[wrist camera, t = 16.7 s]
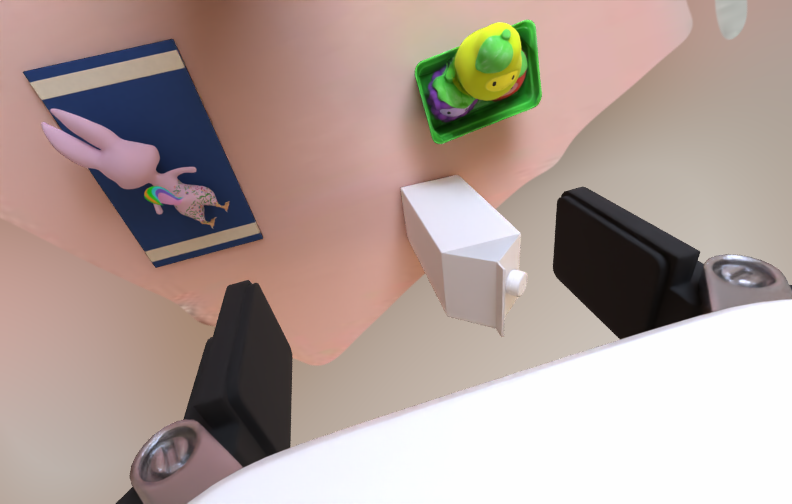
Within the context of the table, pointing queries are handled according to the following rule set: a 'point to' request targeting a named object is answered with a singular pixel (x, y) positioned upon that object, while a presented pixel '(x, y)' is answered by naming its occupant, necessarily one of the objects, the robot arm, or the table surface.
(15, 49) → the table surface
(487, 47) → the fruit basket
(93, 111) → the cloth
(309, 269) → the table surface
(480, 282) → the milk carton
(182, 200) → the rabbit figure
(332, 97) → the table surface
